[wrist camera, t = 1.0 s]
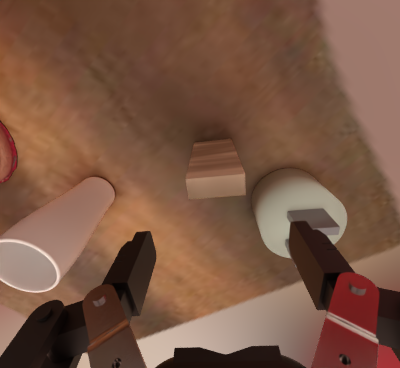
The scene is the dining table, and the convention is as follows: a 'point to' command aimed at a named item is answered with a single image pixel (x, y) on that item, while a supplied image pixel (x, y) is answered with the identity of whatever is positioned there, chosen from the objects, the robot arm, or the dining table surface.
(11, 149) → the beer stein
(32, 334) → the robot arm
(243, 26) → the dining table surface
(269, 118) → the dining table surface
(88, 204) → the drinking glass
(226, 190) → the brown wooden block
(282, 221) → the cream plug cylinder
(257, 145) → the dining table surface
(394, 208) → the dining table surface
